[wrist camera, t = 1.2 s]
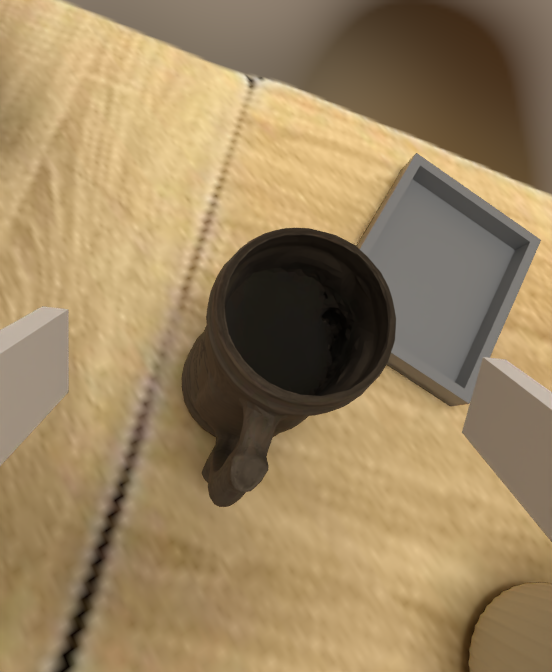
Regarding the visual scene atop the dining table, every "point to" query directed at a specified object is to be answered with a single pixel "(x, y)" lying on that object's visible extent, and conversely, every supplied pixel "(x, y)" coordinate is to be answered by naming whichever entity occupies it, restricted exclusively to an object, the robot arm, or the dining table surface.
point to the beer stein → (283, 347)
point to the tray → (445, 276)
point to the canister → (515, 632)
